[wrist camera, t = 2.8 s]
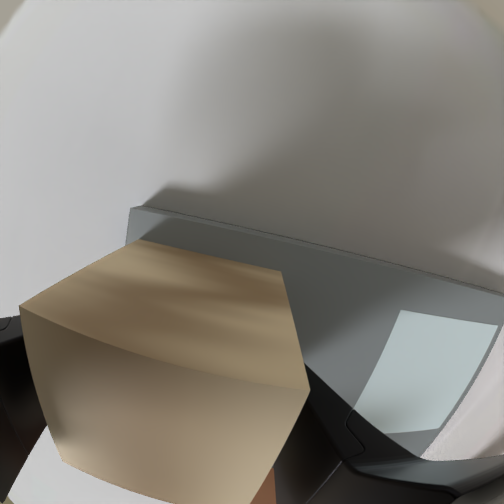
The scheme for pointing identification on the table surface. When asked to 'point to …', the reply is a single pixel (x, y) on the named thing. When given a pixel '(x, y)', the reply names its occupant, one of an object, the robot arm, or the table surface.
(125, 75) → the table surface
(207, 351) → the maple block
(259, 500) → the terracotta block
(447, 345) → the board
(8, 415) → the robot arm
